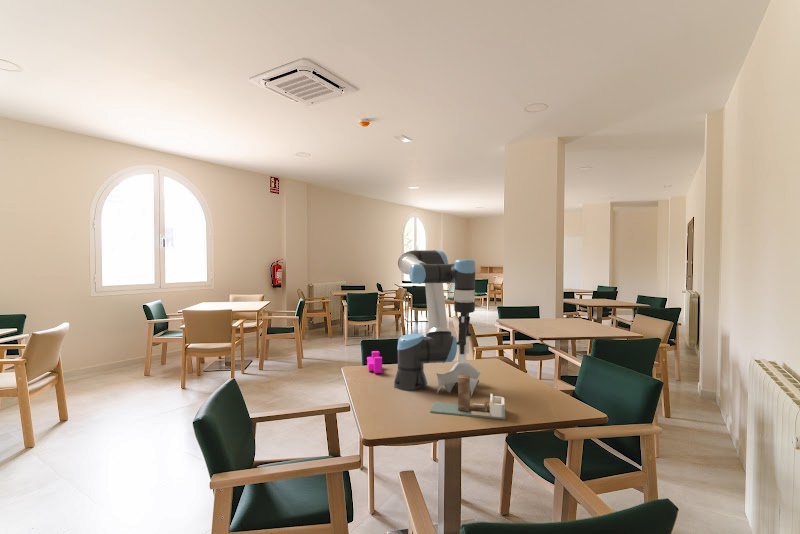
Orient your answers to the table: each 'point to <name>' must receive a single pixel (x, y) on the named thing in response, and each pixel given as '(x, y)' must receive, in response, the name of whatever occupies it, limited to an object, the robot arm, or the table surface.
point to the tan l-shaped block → (467, 395)
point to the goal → (496, 406)
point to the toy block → (375, 362)
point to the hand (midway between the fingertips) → (463, 357)
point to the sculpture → (453, 374)
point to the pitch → (453, 410)
